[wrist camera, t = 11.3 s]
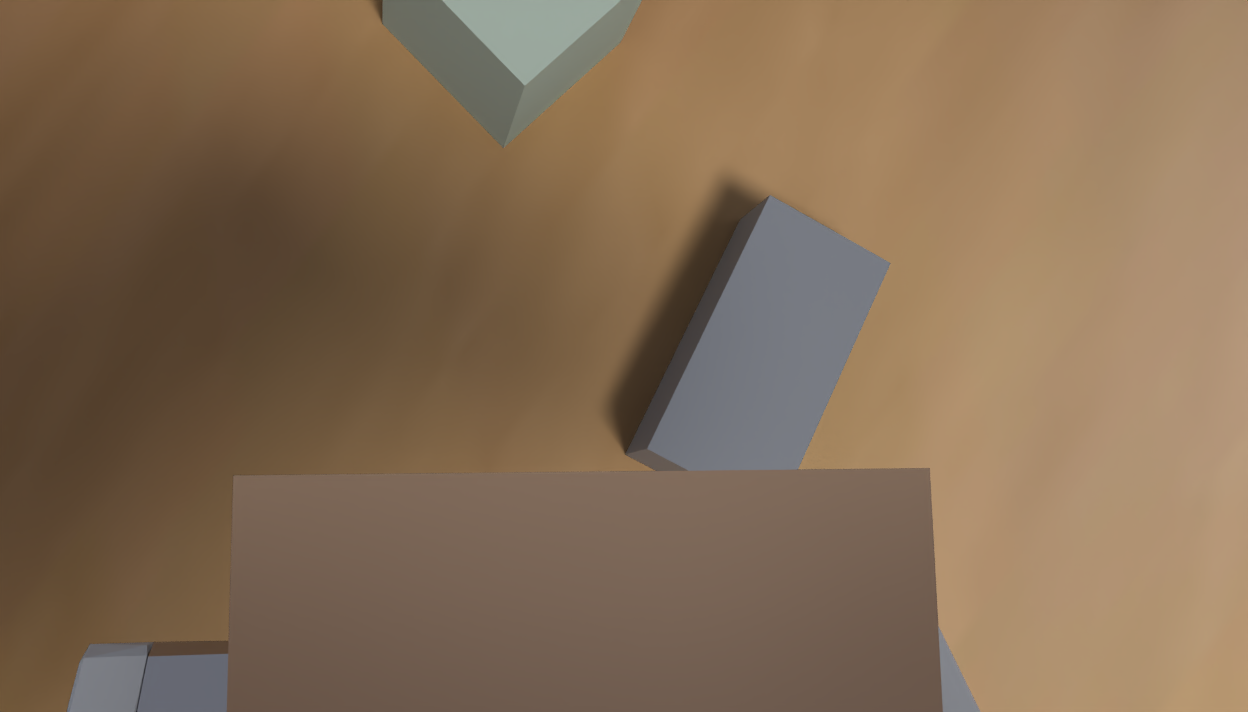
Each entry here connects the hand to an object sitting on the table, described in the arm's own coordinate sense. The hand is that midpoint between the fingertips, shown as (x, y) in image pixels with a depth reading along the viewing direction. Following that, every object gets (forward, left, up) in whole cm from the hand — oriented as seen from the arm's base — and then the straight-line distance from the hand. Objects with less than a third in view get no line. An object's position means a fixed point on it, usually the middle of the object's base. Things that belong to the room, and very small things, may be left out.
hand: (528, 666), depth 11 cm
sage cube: (+13, +10, -21) cm, 27 cm away
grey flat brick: (+11, -2, -22) cm, 24 cm away
